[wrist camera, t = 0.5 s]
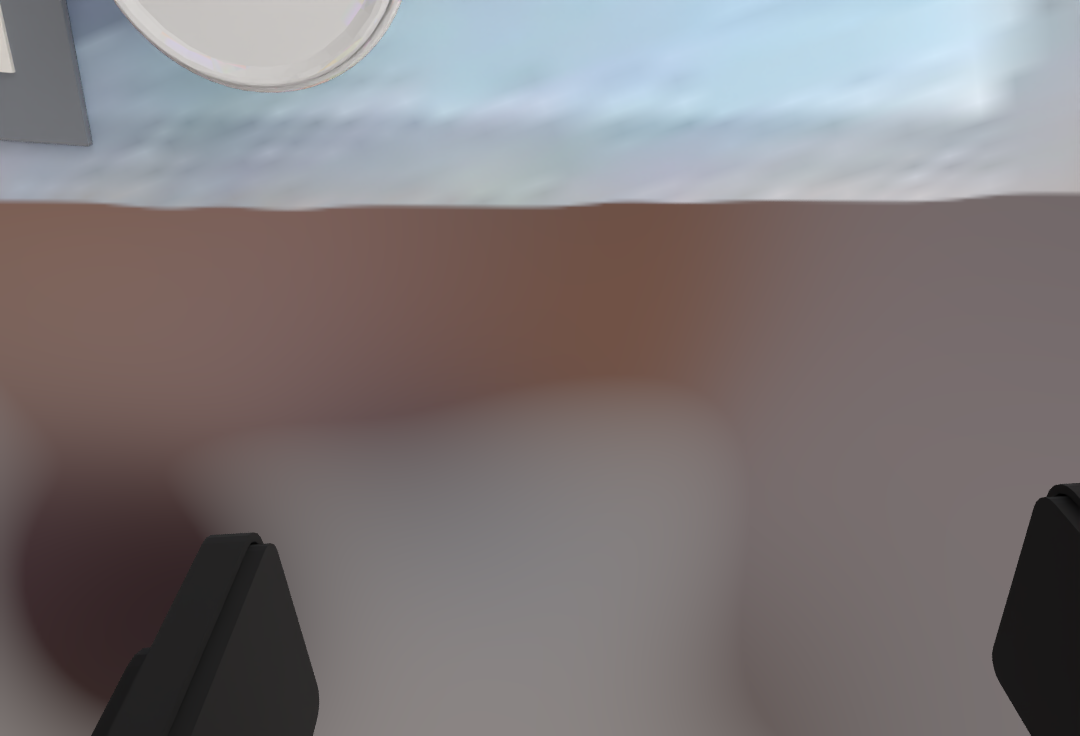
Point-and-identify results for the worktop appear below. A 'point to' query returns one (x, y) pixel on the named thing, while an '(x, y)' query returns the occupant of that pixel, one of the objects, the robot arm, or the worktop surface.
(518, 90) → the worktop surface
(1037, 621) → the robot arm
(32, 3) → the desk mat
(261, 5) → the coffee cup
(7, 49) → the paper
